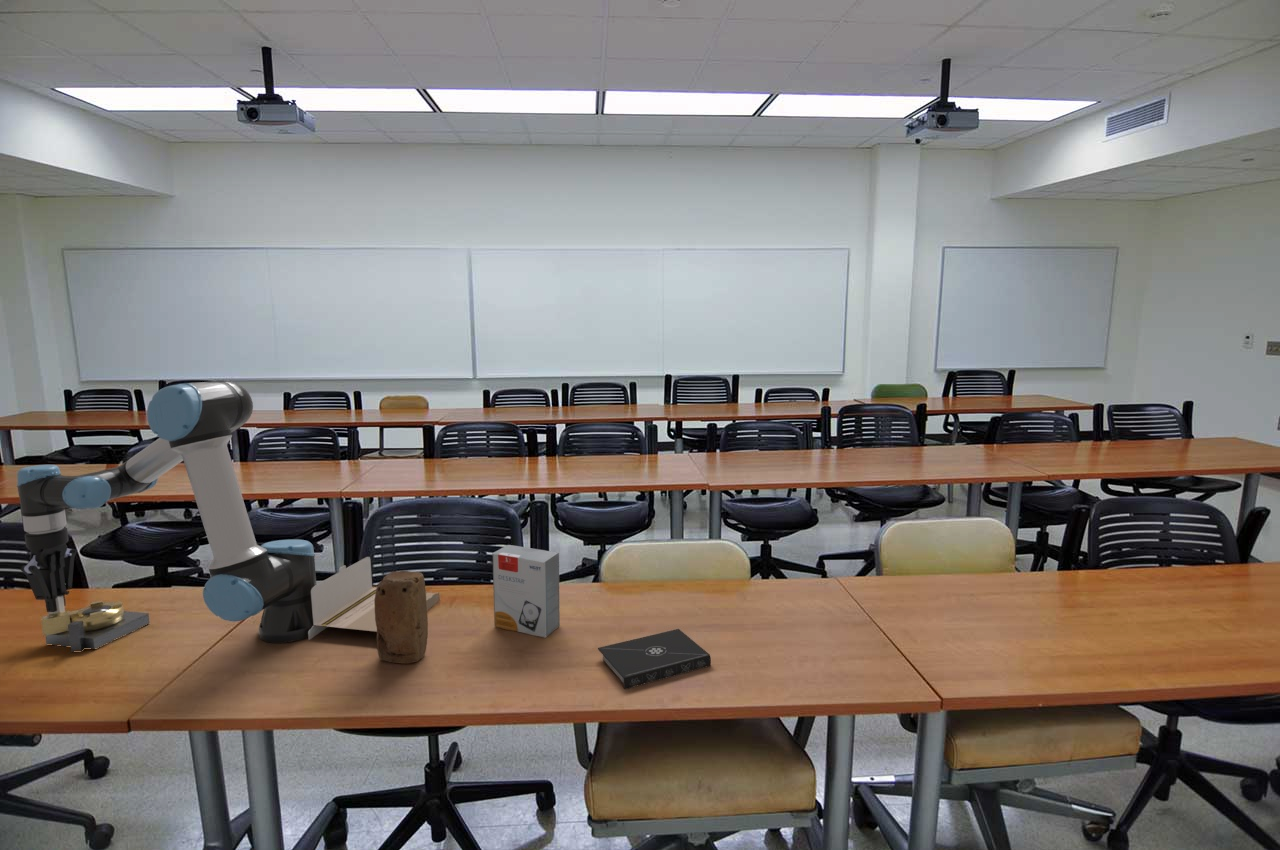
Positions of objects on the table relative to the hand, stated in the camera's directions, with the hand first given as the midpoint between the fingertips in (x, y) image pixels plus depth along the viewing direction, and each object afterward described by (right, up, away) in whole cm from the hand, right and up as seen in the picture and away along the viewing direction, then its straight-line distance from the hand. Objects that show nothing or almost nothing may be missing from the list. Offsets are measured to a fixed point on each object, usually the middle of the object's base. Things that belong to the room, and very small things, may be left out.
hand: (58, 622), depth 155 cm
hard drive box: (+114, -4, +7) cm, 114 cm away
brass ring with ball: (+6, -1, +1) cm, 6 cm away
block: (+88, -6, -8) cm, 88 cm away
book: (+146, -7, -10) cm, 147 cm away
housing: (+7, -4, +2) cm, 9 cm away
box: (+74, -3, +12) cm, 75 cm away
